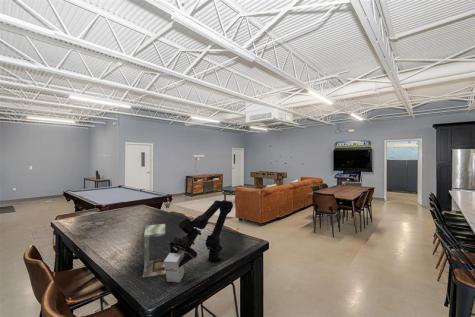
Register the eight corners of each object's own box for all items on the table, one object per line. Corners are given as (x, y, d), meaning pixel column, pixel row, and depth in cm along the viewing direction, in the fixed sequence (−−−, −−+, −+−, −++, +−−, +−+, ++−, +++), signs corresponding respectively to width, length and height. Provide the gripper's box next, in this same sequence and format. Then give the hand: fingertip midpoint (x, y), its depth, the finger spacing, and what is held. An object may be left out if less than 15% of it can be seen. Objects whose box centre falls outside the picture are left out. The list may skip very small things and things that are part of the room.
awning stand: (176, 258, 147) (175, 222, 147) (177, 272, 130) (177, 232, 130) (145, 262, 142) (145, 225, 141) (142, 277, 125) (142, 235, 124)
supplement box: (166, 282, 120) (163, 261, 117) (172, 272, 127) (169, 252, 125) (179, 283, 119) (176, 261, 116) (185, 273, 126) (182, 252, 123)
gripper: (172, 227, 132) (154, 252, 123) (193, 234, 120) (175, 262, 111) (182, 237, 138) (166, 261, 129) (204, 244, 126) (188, 272, 117)
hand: (173, 264), depth 122 cm, fingers closed on supplement box, 9 cm apart
